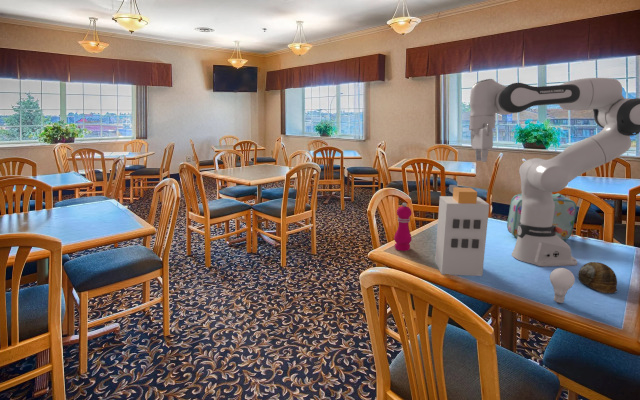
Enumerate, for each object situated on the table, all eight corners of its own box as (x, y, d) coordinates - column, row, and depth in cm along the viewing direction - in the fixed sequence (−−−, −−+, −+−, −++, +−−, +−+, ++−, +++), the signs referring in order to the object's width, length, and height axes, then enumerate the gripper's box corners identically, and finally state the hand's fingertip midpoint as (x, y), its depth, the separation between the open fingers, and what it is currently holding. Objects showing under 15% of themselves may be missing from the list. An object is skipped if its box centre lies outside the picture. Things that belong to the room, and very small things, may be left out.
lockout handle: (459, 190, 153) (460, 181, 152) (476, 203, 132) (477, 192, 131) (444, 190, 154) (445, 180, 153) (458, 203, 132) (459, 191, 131)
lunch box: (563, 235, 181) (569, 191, 176) (575, 243, 171) (582, 195, 166) (504, 234, 183) (509, 190, 178) (512, 241, 173) (518, 194, 168)
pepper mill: (411, 252, 160) (413, 205, 155) (393, 250, 161) (395, 204, 156) (410, 246, 166) (413, 201, 162) (393, 245, 168) (395, 200, 163)
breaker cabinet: (472, 263, 148) (478, 196, 142) (482, 276, 135) (490, 205, 130) (435, 261, 149) (439, 196, 143) (442, 275, 137) (447, 204, 131)
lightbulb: (567, 299, 119) (573, 266, 116) (573, 309, 113) (579, 274, 111) (544, 296, 121) (549, 263, 119) (548, 305, 115) (553, 271, 113)
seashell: (569, 280, 132) (573, 258, 131) (593, 278, 134) (596, 256, 132) (598, 295, 122) (602, 271, 120) (623, 293, 123) (628, 269, 122)
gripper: (498, 122, 134) (497, 162, 136) (484, 125, 154) (484, 160, 156) (479, 123, 135) (478, 162, 137) (468, 126, 155) (467, 160, 157)
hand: (481, 161), depth 147 cm, fingers open, 8 cm apart
